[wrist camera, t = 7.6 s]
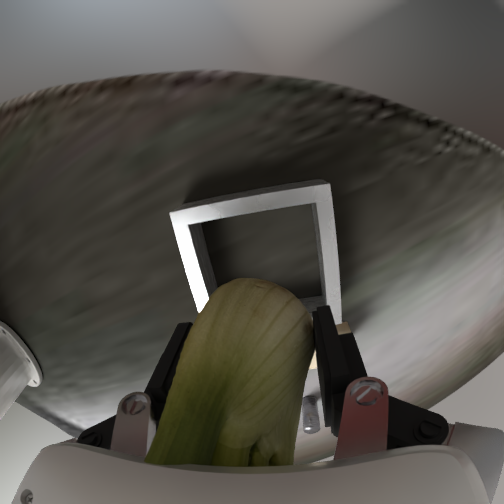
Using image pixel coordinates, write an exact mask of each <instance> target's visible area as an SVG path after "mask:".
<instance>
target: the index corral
mask: <svg viewBox="0 0 504 504" xmlns="http://www.w3.org/2000/svg"><path fill="white" fill-rule="evenodd" d="M308 203H311V205H312V212H313V220H314V227H315V235H316V243H317V251H318V260H319V269H320V279H321V290H322V295H321V296H315V297H309V298H302V299H299V300H300V301H301V302H302V304H303V305H304V306H305V308H306V309H307V311H308V312H309V314H310V315H311V317H312V311H317V309H316V307H320V306H326V305H330V308H331V311H332V314H333V318H334V321H335V325H337V324H342V314H341V292H340V275H339V262H338V250H337V239H336V229H335V219H334V211H333V203H332V195H331V187H330V183H328V182H327V181H325V180H323V179H316V180H309V181H302V182H296V183H289V184H283V185H277V186H271V187H265V188H259V189H254V190H248V191H243V192H238V193H232V194H227V195H222V196H217V197H212V198H208V199H203V200H198V201H193V202H189V203H184V204H182V205H180V206H179V207H177V208H176V209H174V210H173V211H171V212H170V216H171V220H172V224H173V228H174V231H175V235H176V239H177V242H178V246H179V249H180V253H181V256H182V260H183V263H184V266H185V270H186V273H187V276H188V280H189V283H190V286H191V289H192V292H193V295H194V299H195V302H196V305H197V308H198V311H199V312H200V311H201V310H202V308H203V307H204V304H205V303H206V302H207V301H208V299H209V297H210V296H211V295H212V294H213V293H214V292H215V290H217V288H218V287H217V283H216V280H215V276H214V272H213V269H212V265H211V261H210V257H209V253H208V250H207V246H206V242H205V238H204V234H203V230H202V226H201V222H204V221H210V220H215V219H220V218H226V217H231V216H236V215H242V214H248V213H253V212H259V211H265V210H271V209H277V208H283V207H289V206H296V205H302V204H308ZM312 320H313V319H312Z"/></svg>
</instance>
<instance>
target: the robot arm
mask: <svg viewBox="0 0 504 504" xmlns="http://www.w3.org/2000/svg"><path fill="white" fill-rule="evenodd" d="M316 309H317V311H312V319H313V329H314V338H315V351H316V362H317V369H318V376H319V383H320V390H321V397H322V405H323V413H324V421H325V427H330V426H331V433H333V435H334V436H336V437H338V440H337V445H336V450H335V454H334V459H333V460H332V461H325V462H317V463H309V464H299V465H287V466H268V467H225V466H207V465H195V464H184V465H156V464H150V463H145V462H144V459H145V457H146V455H147V453H148V450H149V448H150V446H151V443H152V441H153V438H154V436H155V434H156V432H157V429H158V426H159V421H160V419H161V415H162V413H163V411H164V407H165V404H166V399H167V396H168V393H169V390H170V389H171V386H172V382H173V378H174V376H175V374H176V367H177V365H178V361H179V359H180V355H181V354H180V353H181V352H182V350H183V347H184V342H185V341H186V339H187V336H188V334H189V332H190V329H191V327H192V326H193V324H192V323H191V322H186V323H179V324H178V325H177V327H176V329H175V331H174V333H173V335H172V337H171V339H170V341H169V343H168V345H167V347H166V349H165V351H164V353H163V354H162V356H161V358H160V360H159V362H158V364H157V366H156V368H155V370H154V372H153V375H152V377H151V379H150V381H149V383H148V385H147V387H146V389H145V391H144V392H133V393H130V394H128V395H126V396H125V397H124V398H123V399H122V400H121V401H120V403H119V405H118V409H117V414H116V415H114V416H113V417H111V418H109V419H107V420H105V421H103V422H101V423H99V424H97V425H94V426H92V427H90V428H88V429H86V430H85V431H83V432H82V433H81V434H80V436H79V438H78V439H77V438H73V439H70V440H67V441H64V442H60V443H57V444H52V445H49V446H47V447H45V448H43V449H42V450H41V451H40V453H39V454H38V455H37V457H36V458H35V460H34V461H33V462H32V464H31V466H30V467H29V469H28V471H27V473H26V475H25V476H24V478H23V480H22V482H21V484H20V486H19V488H18V490H17V493H16V495H15V497H14V499H13V501H12V504H491V502H492V500H493V496H494V494H495V491H496V488H497V484H498V481H499V478H500V474H501V471H502V467H503V463H504V432H503V431H502V430H499V429H496V428H488V427H482V426H476V425H469V424H464V423H459V422H455V424H449V423H447V421H446V419H445V418H444V417H443V416H441V415H439V414H437V413H434V412H431V411H428V410H426V409H423V408H420V407H418V406H415V405H412V404H410V403H407V402H405V401H402V400H399V399H397V398H394V397H392V396H389V395H388V387H387V385H386V384H385V383H384V382H383V381H382V380H380V379H378V378H375V377H368V376H367V373H366V370H365V367H364V364H363V361H362V358H361V355H360V352H359V349H358V346H357V343H356V340H355V338H354V335H353V333H352V332H351V333H345V334H340V335H338V331H337V328H336V325H335V321H334V318H333V314H332V311H331V308H330V305H326V306H320V307H316ZM41 382H42V372H41V370H40V367H39V365H38V363H37V361H36V359H35V358H34V356H33V354H32V353H31V351H30V350H29V348H28V347H27V346H26V345H25V343H24V342H23V341H22V340H21V338H20V337H19V336H18V335H17V334H16V333H15V332H14V331H13V330H12V329H11V328H10V327H9V326H7V325H6V324H5V323H3V322H1V321H0V420H1V419H2V417H3V416H4V414H5V413H6V412H7V410H8V409H9V407H10V406H11V405H12V404H13V402H14V401H15V400H16V398H17V397H18V396H19V394H20V393H21V392H22V391H23V389H24V388H25V387H26V385H30V386H33V387H37V386H39V385H40V383H41Z"/></svg>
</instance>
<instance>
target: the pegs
mask: <svg viewBox="0 0 504 504" xmlns="http://www.w3.org/2000/svg"><path fill="white" fill-rule="evenodd" d="M302 412H303V427H304V432H305V433H308V434H313V433H316V432H318V431H319V430H320V423H319V415H318V407H317V399H316V397H314V396H306V397H304V398H303V399H302Z"/></svg>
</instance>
